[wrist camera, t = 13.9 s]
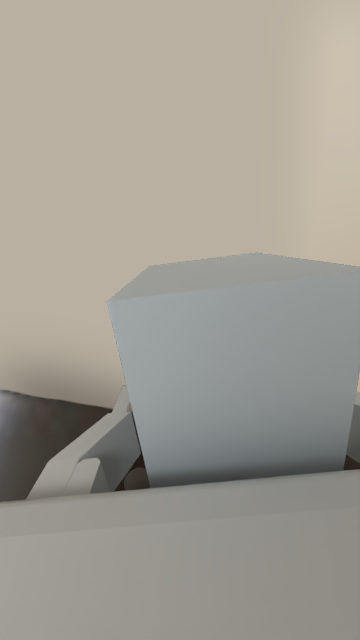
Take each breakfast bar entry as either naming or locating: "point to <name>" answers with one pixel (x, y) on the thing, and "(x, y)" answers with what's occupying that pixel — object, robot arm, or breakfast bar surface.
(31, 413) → the breakfast bar surface
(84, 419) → the breakfast bar surface
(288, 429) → the block
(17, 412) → the breakfast bar surface
